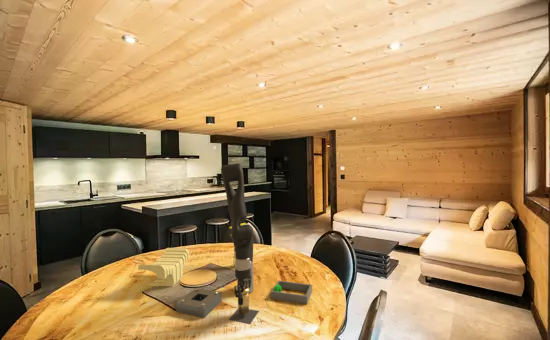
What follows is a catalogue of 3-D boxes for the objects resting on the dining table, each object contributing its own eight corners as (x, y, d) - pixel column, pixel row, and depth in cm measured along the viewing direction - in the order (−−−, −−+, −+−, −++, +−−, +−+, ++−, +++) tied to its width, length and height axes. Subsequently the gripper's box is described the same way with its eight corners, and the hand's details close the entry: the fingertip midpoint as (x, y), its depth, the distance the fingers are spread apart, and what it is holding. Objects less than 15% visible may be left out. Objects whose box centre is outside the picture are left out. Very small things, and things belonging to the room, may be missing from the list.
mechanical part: (272, 295, 150) (272, 281, 150) (281, 297, 147) (281, 283, 147) (261, 305, 139) (261, 290, 139) (271, 308, 137) (271, 293, 136)
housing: (196, 298, 144) (195, 287, 144) (221, 302, 139) (221, 291, 139) (176, 313, 129) (176, 301, 129) (204, 319, 124) (204, 306, 123)
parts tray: (278, 287, 155) (278, 280, 155) (312, 291, 148) (311, 284, 148) (270, 298, 142) (270, 291, 141) (307, 304, 135) (307, 296, 135)
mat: (239, 308, 133) (238, 307, 133) (259, 311, 129) (259, 310, 129) (228, 320, 122) (228, 319, 122) (249, 324, 119) (249, 323, 119)
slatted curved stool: (165, 297, 146) (164, 265, 145) (139, 295, 148) (138, 264, 147) (189, 274, 175) (188, 248, 175) (167, 273, 177) (166, 247, 177)
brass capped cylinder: (240, 306, 129) (240, 285, 129) (251, 308, 127) (251, 286, 127) (235, 313, 124) (234, 290, 124) (246, 315, 122) (246, 292, 122)
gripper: (242, 260, 133) (242, 293, 134) (228, 271, 120) (229, 308, 120) (255, 262, 131) (256, 295, 131) (243, 273, 117) (243, 310, 118)
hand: (243, 301), depth 126 cm, fingers closed on brass capped cylinder, 5 cm apart
